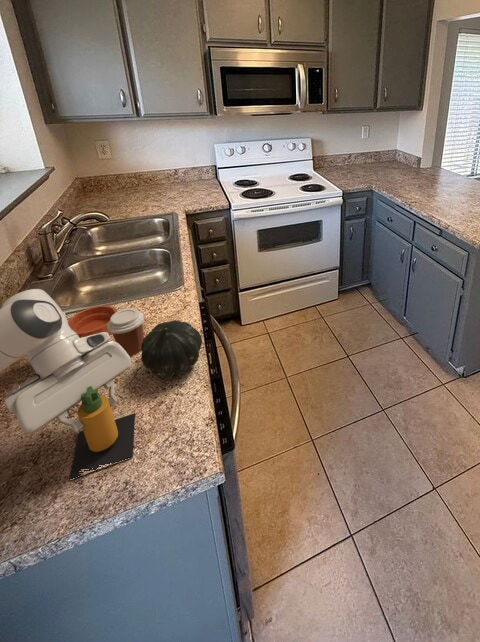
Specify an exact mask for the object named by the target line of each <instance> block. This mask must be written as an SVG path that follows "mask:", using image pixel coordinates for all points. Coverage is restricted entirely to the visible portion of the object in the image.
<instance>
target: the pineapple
mask: <svg viewBox="0 0 480 642" xmlns="http://www.w3.org/2000/svg"><path fill="white" fill-rule="evenodd" d="M108 398H109V397H108V396H106V395H103V394H100V393H99V389H98V390H94V391H93V388H92V386H90V387H87V392H86V393H84V394H81V400H82V401H81V404H80V406H79V408H78V409H77V417H78V419H80V420H81V421H82V422H81V423H83V424H84V427H83V428H82V429H81V430H83V432H84V434H85V437H86V440H87V443H88V446H89V449H90V450H91V451H94V452H98V451H102V450H105V449H107V448H108V447H110V446H111V445H112V444H113V443H114V442H115V440H116V439H117V437H118V430H117V427H116V423H115V416H114V414H113V410H112V406H110V403H109V400H108Z"/></svg>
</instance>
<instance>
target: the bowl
mask: <svg viewBox="0 0 480 642" xmlns="http://www.w3.org/2000/svg"><path fill="white" fill-rule="evenodd" d="M116 312H118V310H117V308H116V307H113V306H111V305H107V304H106V305H96V306H92V307H88V308H86V309H83V310H82V311H80V312H76V314H74V315H73V316H71V317H70V318H69V319H68V324H69V327H70V328H71V329H72V330H73V331H74V332H76V333H77V335H78V336H79V338H82V337H86V336H90V335H94V334H98V333H101V332H107V333H108V334H109V336H111V335H113V334H112V333H111V332H109V331H108V329H107V324H108V322H109V321H110V318H111V317H112V315H113V314H115V313H116Z"/></svg>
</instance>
